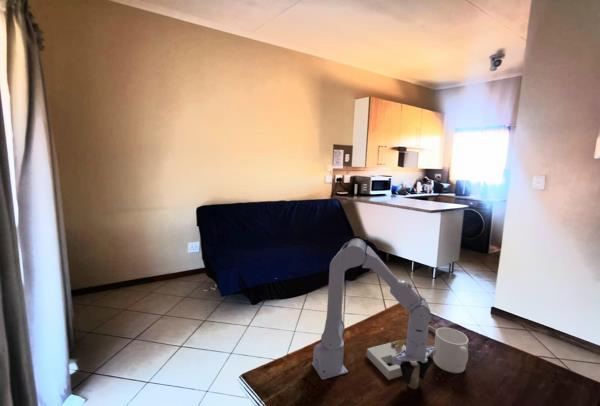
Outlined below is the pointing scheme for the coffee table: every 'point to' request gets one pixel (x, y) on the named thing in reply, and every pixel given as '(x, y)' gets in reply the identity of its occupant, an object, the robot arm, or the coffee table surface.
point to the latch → (400, 342)
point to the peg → (414, 375)
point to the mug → (451, 350)
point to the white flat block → (386, 358)
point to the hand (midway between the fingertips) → (413, 379)
